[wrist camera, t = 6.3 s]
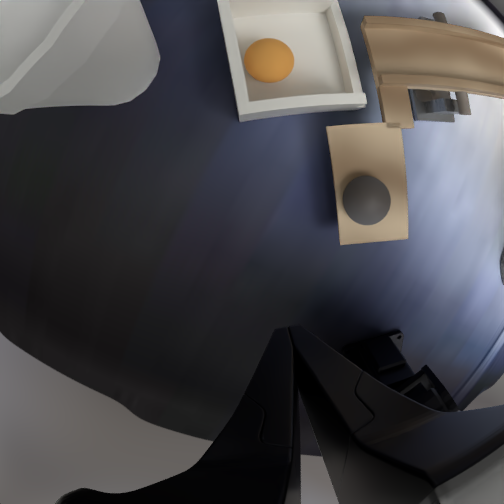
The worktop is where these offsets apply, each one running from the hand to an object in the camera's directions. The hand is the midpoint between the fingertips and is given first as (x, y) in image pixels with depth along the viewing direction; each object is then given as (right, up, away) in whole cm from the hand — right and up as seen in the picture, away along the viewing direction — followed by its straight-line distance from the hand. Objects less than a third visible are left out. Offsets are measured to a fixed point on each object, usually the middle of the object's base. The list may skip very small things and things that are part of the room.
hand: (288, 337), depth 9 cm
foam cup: (-11, +17, +7) cm, 21 cm away
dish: (+1, +17, +8) cm, 18 cm away
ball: (0, +15, +6) cm, 16 cm away
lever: (+16, +13, +6) cm, 21 cm away
